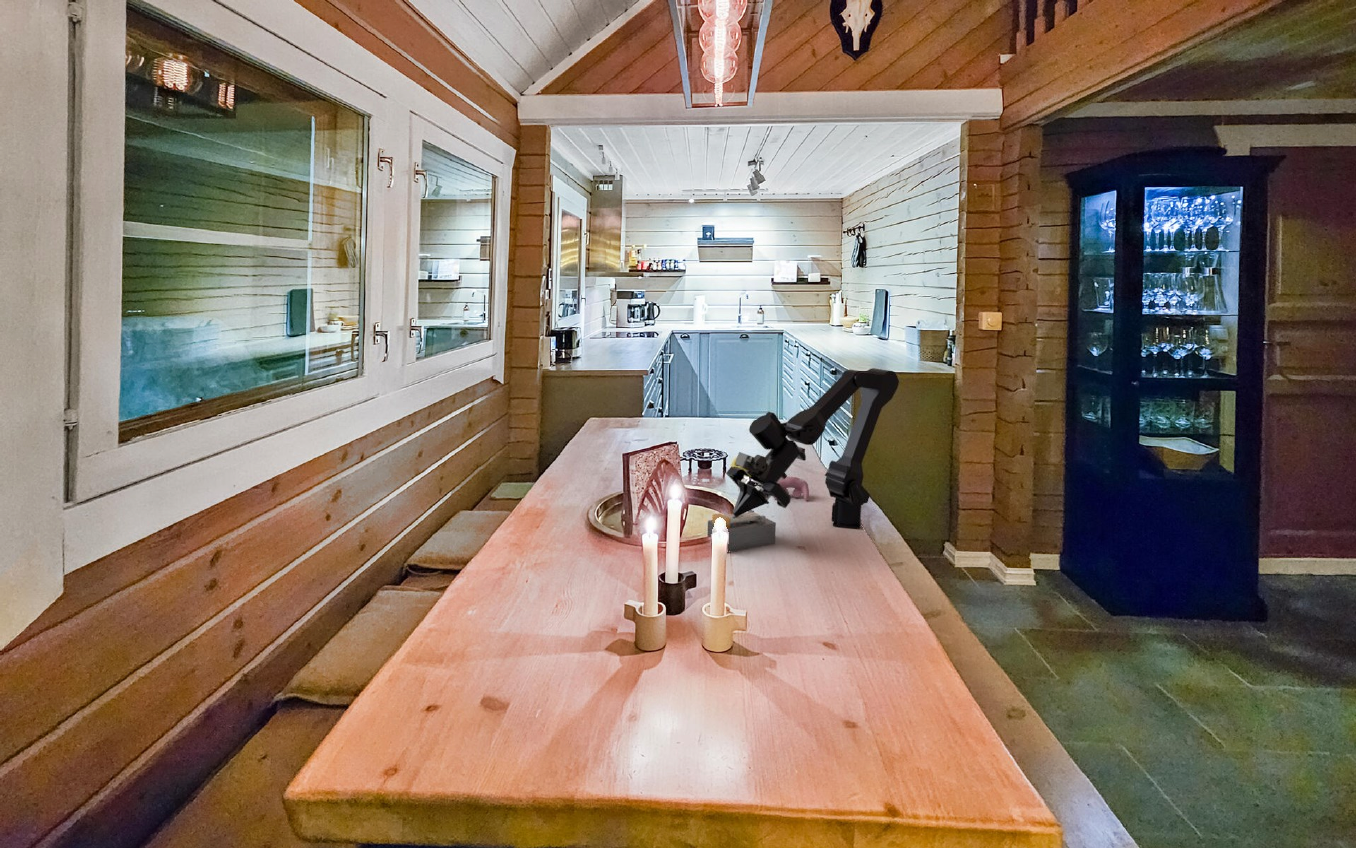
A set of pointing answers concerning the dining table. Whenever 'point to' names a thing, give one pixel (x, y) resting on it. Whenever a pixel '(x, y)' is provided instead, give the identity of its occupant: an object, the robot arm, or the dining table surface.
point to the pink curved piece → (795, 486)
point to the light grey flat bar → (743, 517)
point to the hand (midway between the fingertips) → (734, 515)
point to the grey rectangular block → (747, 532)
